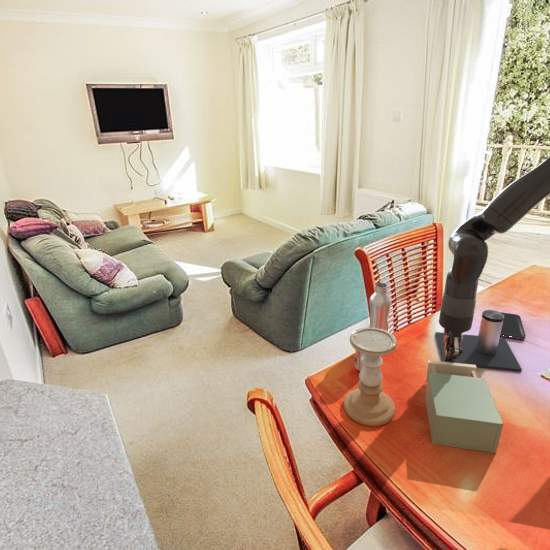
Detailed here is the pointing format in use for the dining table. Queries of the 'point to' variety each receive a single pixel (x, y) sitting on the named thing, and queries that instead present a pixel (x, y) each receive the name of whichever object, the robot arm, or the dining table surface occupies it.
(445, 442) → the cabinet
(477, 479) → the dining table surface
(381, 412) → the candle holder
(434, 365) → the drawer
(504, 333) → the phone
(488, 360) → the mat
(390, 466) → the dining table surface
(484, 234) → the robot arm
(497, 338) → the canister
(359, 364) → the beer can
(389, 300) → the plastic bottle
